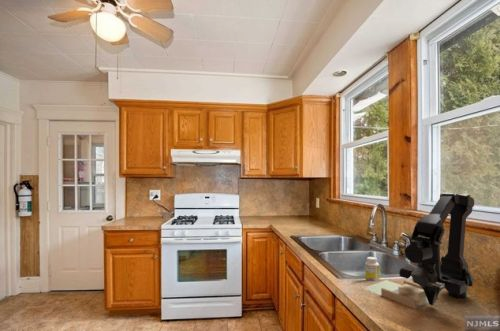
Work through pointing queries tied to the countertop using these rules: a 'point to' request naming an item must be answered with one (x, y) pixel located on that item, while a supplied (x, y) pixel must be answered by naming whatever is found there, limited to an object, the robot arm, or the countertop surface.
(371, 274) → the supplement bottle
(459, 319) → the countertop surface
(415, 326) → the countertop surface
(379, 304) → the countertop surface
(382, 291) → the board
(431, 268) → the robot arm
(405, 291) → the block
